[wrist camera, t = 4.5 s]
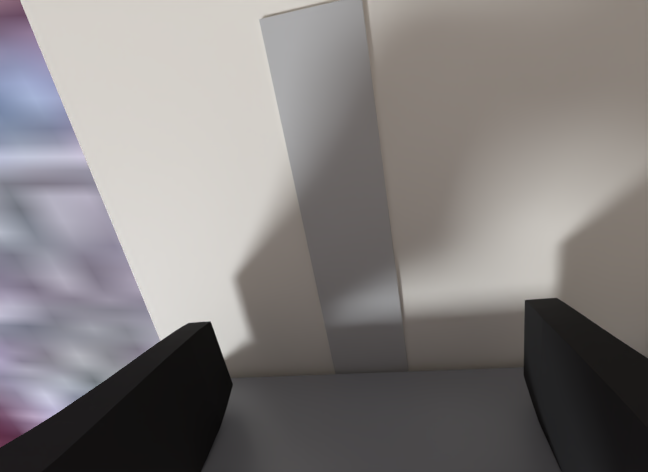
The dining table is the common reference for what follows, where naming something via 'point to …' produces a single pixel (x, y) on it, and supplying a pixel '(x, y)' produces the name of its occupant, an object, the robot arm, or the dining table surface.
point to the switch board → (365, 170)
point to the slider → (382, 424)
